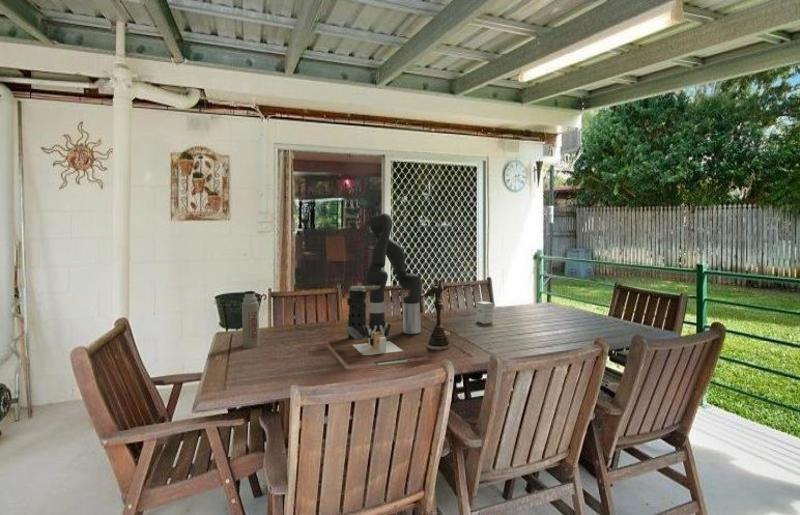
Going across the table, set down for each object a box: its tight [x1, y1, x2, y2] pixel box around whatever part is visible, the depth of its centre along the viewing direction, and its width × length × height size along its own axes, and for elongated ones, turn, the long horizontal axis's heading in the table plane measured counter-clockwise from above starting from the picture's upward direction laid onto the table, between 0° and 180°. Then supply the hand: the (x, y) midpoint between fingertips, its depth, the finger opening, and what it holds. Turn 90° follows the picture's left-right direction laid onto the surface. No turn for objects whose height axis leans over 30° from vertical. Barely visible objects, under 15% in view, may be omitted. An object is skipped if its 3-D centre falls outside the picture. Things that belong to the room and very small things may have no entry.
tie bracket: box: [352, 329, 404, 356], centre depth 226 cm, size 20×19×8 cm
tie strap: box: [345, 326, 364, 341], centre depth 221 cm, size 3×19×2 cm, turn 21°
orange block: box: [371, 331, 383, 349], centre depth 224 cm, size 4×8×7 cm, turn 21°
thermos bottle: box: [241, 290, 260, 349], centre depth 234 cm, size 8×8×28 cm
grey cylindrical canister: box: [476, 301, 494, 325], centre depth 288 cm, size 7×7×13 cm
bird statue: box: [420, 279, 451, 351], centre depth 234 cm, size 17×13×35 cm
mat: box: [374, 358, 408, 367], centre depth 210 cm, size 14×10×1 cm
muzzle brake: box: [346, 285, 368, 340], centre depth 250 cm, size 10×28×10 cm
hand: (377, 345), depth 226 cm, fingers closed on orange block, 4 cm apart
